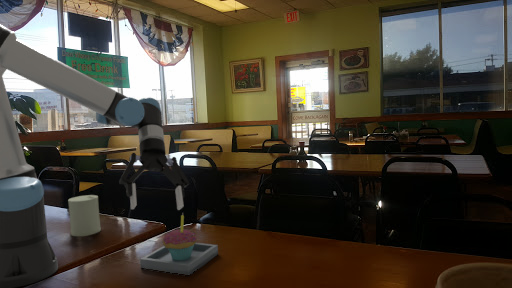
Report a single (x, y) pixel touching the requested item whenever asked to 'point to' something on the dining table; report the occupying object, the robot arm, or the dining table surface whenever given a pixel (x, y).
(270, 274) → the dining table surface
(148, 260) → the tray
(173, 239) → the cupcake
